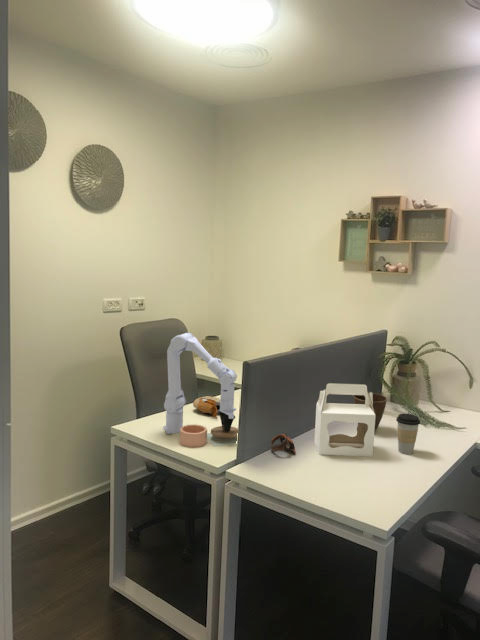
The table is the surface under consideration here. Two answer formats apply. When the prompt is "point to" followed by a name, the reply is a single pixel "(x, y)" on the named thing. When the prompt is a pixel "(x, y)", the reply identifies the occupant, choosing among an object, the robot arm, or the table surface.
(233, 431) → the walnut lid
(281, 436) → the brown openwork dome
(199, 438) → the terracotta bowl
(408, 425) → the coffee cup
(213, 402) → the nautilus
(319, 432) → the gable box
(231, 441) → the rubber mat
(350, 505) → the table surface
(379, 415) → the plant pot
